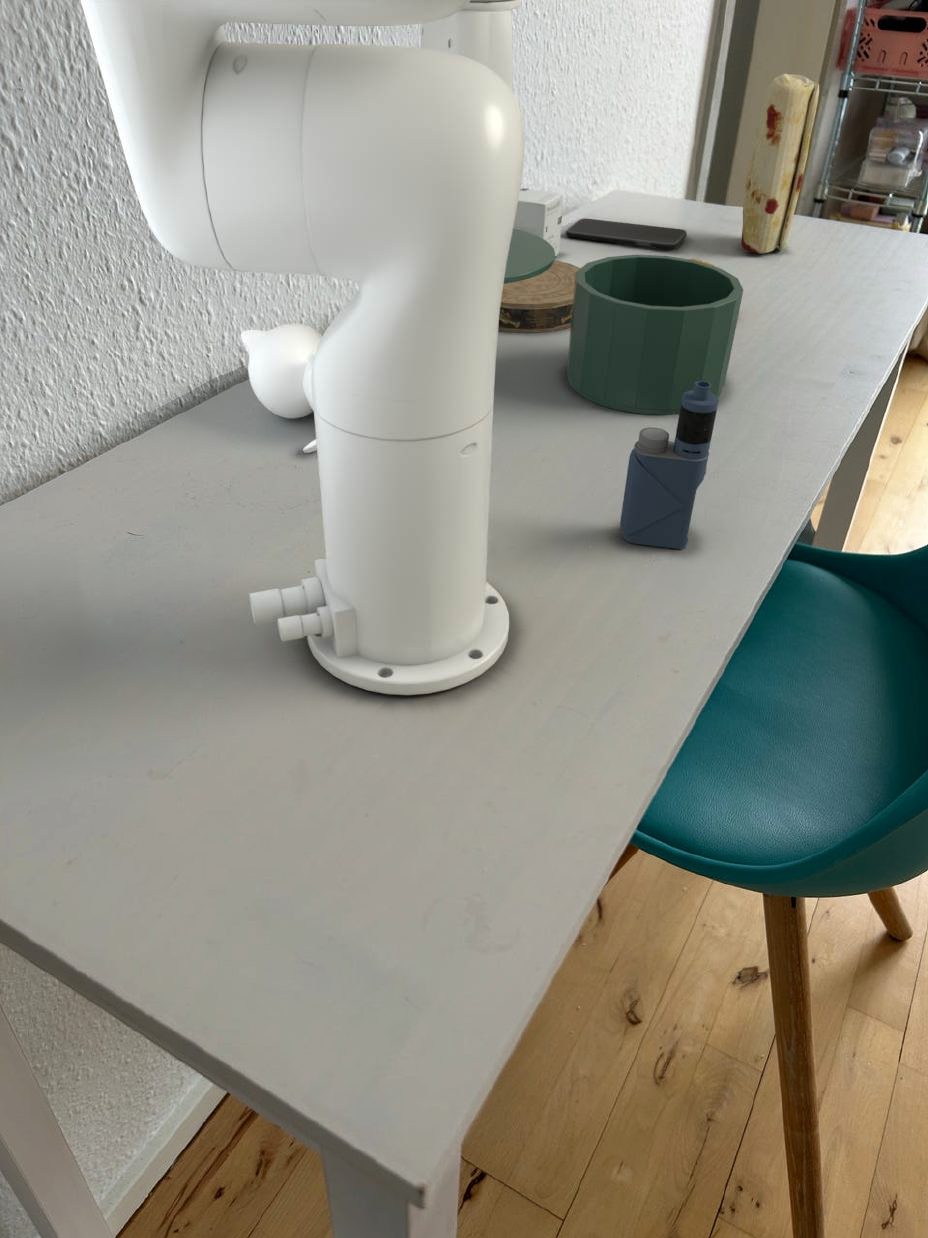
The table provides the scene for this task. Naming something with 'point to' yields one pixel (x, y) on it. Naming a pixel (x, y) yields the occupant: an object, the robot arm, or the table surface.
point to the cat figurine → (283, 369)
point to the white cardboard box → (540, 215)
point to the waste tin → (650, 331)
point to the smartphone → (627, 233)
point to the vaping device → (668, 474)
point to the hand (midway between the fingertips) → (464, 238)
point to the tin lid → (527, 256)
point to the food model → (778, 162)
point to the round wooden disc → (539, 301)
